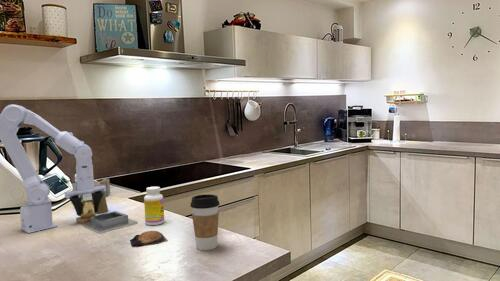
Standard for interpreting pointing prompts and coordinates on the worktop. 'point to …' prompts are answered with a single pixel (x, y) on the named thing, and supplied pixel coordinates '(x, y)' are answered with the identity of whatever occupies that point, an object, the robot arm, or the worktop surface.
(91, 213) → the slotted brass cylinder
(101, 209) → the cork
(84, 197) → the syrup box
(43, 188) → the robot arm
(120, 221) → the grey square tray
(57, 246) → the worktop surface
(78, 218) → the stand
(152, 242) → the bread roll
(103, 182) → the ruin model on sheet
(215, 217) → the coffee cup
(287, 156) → the worktop surface
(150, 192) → the supplement bottle
